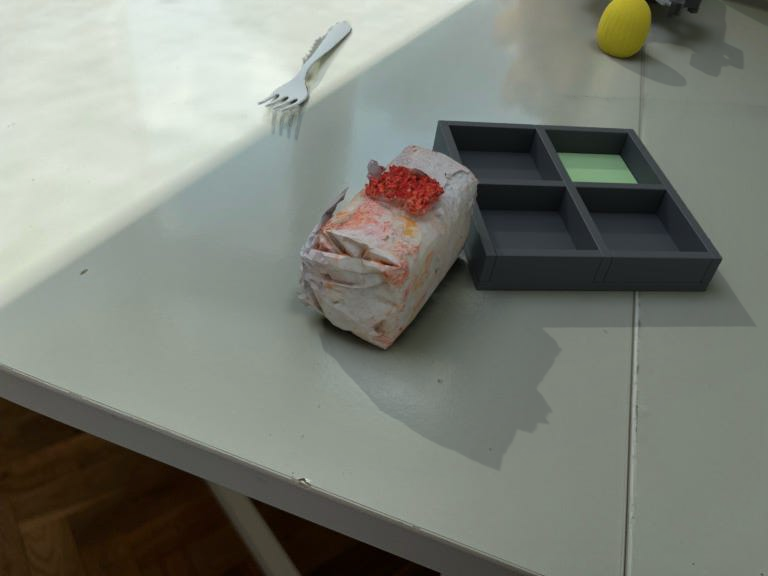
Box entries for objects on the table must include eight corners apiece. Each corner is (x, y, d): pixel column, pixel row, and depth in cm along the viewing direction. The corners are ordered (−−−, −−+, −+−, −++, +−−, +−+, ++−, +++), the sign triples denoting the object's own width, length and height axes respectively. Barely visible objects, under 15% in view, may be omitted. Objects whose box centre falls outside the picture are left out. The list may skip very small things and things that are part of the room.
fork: (359, 27, 88) (361, 12, 87) (285, 128, 70) (286, 111, 69) (332, 21, 89) (334, 5, 87) (252, 120, 71) (252, 102, 69)
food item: (392, 370, 50) (416, 252, 44) (285, 321, 52) (293, 201, 46) (470, 258, 60) (499, 147, 53) (377, 220, 62) (394, 109, 55)
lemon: (624, 77, 87) (649, 7, 82) (580, 59, 90) (602, -10, 84) (643, 63, 91) (668, -5, 86) (600, 46, 93) (622, -22, 88)
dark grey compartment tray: (621, 159, 74) (633, 128, 72) (705, 291, 60) (723, 258, 58) (431, 152, 70) (438, 119, 68) (476, 290, 57) (486, 255, 55)
